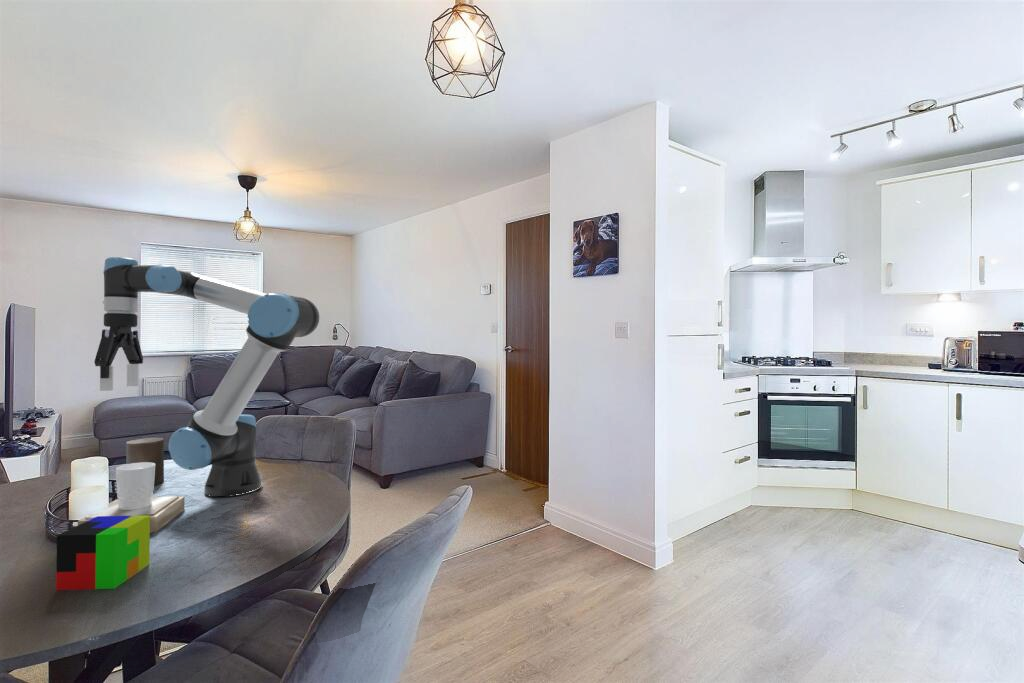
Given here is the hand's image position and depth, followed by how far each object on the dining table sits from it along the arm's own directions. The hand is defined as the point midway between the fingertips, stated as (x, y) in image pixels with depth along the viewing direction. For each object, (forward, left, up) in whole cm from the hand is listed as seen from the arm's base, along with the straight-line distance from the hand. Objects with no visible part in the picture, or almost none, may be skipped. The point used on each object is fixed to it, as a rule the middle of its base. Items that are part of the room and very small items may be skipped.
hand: (120, 388), depth 142 cm
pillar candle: (+1, -17, -32) cm, 36 cm away
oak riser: (-13, +20, -32) cm, 40 cm away
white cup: (-13, +20, -28) cm, 37 cm away
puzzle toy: (-22, +51, -32) cm, 64 cm away
